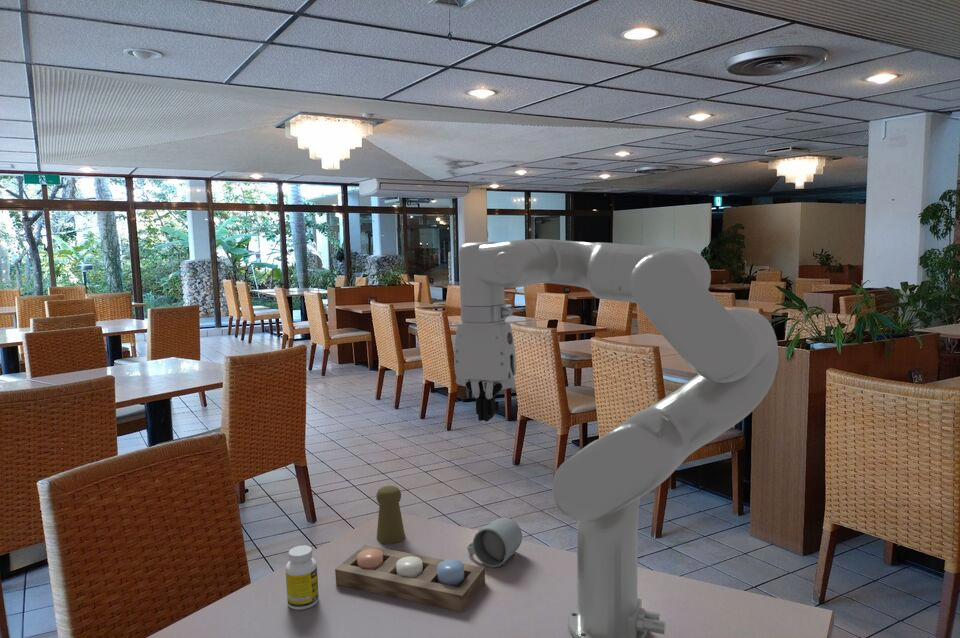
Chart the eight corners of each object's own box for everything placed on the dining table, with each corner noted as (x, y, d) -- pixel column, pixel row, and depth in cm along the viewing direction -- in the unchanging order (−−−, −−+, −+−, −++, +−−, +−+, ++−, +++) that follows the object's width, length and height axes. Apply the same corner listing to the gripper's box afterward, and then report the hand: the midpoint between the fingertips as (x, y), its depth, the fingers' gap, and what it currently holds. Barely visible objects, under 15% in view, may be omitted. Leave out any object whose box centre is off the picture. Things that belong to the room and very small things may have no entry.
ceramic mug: (525, 552, 133) (523, 516, 132) (507, 571, 126) (505, 533, 125) (479, 542, 138) (477, 507, 137) (459, 560, 131) (457, 523, 130)
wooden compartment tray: (485, 582, 122) (484, 567, 122) (462, 612, 113) (462, 595, 113) (365, 558, 133) (364, 544, 132) (336, 584, 123) (335, 569, 123)
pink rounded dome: (388, 565, 127) (387, 551, 127) (374, 578, 123) (374, 563, 123) (366, 561, 129) (366, 547, 129) (353, 573, 125) (352, 558, 124)
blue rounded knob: (468, 577, 121) (468, 562, 120) (457, 591, 116) (457, 575, 116) (445, 572, 122) (444, 557, 122) (433, 586, 118) (432, 570, 118)
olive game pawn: (399, 544, 138) (397, 494, 137) (372, 542, 139) (369, 493, 138) (408, 531, 144) (406, 483, 142) (382, 529, 145) (379, 481, 144)
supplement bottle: (318, 608, 116) (314, 556, 114) (286, 612, 115) (281, 559, 113) (320, 592, 121) (316, 541, 120) (289, 595, 120) (285, 544, 119)
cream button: (427, 573, 124) (426, 558, 124) (415, 586, 120) (414, 571, 119) (405, 569, 126) (404, 554, 125) (392, 582, 122) (391, 566, 121)
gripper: (531, 312, 113) (533, 416, 116) (452, 310, 119) (456, 409, 122) (516, 319, 106) (519, 429, 109) (433, 316, 112) (438, 421, 115)
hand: (486, 418), depth 115 cm, fingers closed
